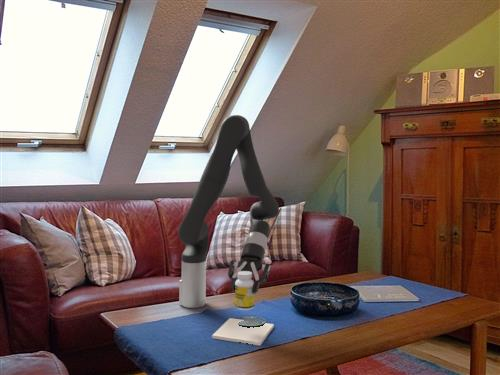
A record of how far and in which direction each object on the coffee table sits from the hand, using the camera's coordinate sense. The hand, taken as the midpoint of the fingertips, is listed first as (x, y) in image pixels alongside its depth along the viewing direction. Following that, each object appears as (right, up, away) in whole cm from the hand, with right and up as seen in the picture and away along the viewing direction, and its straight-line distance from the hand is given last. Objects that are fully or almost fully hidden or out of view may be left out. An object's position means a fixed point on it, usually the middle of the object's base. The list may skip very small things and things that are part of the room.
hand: (243, 291), depth 158 cm
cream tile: (0, -14, +3) cm, 15 cm away
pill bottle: (0, -6, +2) cm, 6 cm away
